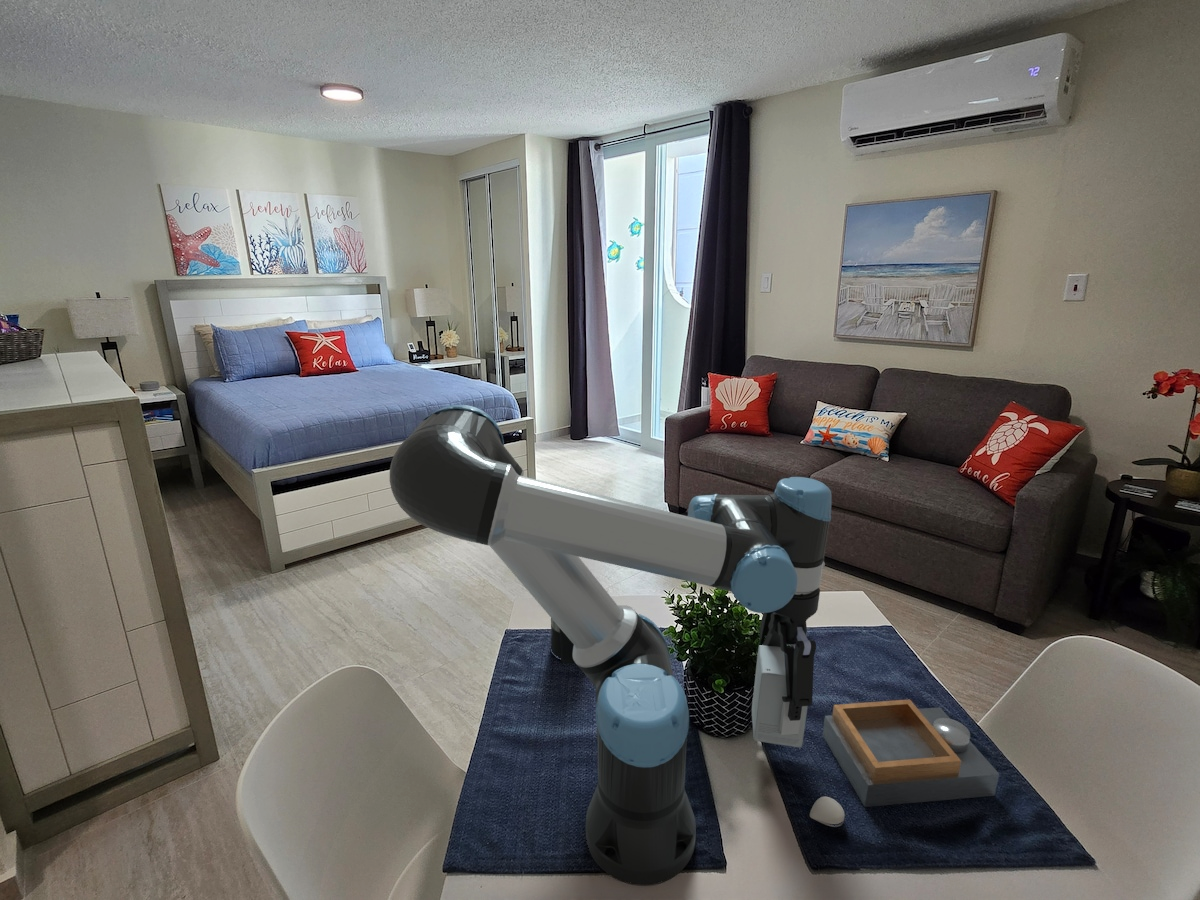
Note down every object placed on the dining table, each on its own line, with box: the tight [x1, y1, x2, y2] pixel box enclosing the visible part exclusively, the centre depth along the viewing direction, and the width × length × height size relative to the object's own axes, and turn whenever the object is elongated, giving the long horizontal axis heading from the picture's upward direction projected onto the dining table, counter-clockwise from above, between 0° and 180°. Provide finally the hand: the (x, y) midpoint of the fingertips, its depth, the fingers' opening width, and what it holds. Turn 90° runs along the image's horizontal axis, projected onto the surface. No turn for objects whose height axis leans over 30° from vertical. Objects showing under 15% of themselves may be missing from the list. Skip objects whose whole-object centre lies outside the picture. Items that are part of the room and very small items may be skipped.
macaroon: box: [809, 795, 846, 828], centre depth 87 cm, size 4×5×2 cm
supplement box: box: [751, 644, 809, 748], centre depth 95 cm, size 7×7×13 cm
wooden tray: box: [821, 698, 1000, 808], centre depth 96 cm, size 20×14×6 cm
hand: (777, 711), depth 96 cm, fingers closed on supplement box, 8 cm apart
